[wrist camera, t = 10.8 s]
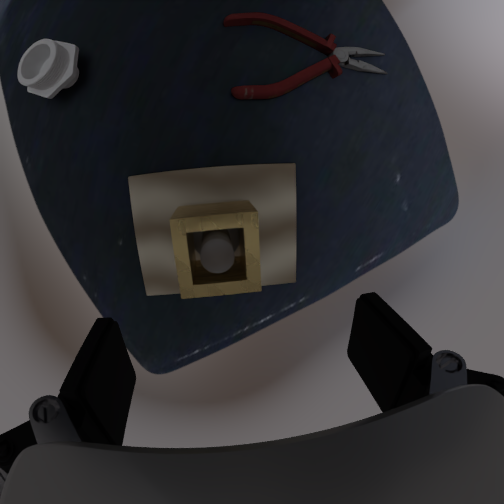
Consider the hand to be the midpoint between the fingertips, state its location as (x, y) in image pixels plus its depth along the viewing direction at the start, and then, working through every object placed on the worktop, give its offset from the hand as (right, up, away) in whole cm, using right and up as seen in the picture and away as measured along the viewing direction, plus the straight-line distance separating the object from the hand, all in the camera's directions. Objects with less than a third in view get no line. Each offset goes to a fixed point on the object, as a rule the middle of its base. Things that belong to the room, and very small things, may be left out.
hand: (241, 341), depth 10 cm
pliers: (+6, +25, +17) cm, 31 cm away
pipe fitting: (-21, +24, +13) cm, 35 cm away
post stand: (-4, +6, +21) cm, 22 cm away
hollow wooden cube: (-3, +5, +18) cm, 19 cm away
